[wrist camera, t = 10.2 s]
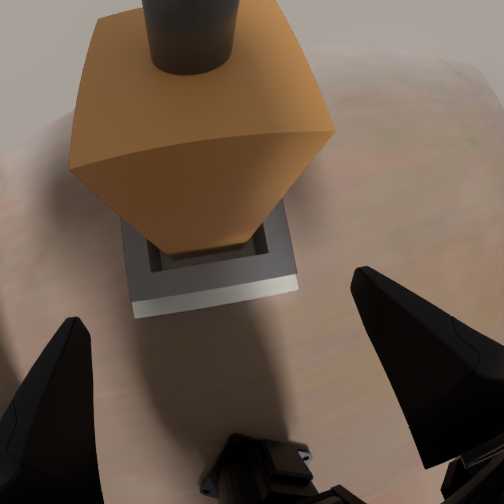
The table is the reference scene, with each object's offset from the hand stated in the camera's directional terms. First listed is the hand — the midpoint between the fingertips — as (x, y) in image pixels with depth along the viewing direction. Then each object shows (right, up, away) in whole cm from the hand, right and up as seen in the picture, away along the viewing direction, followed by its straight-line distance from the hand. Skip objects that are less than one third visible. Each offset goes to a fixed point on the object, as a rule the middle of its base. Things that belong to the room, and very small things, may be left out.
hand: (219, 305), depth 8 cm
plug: (-2, +3, +8) cm, 9 cm away
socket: (-2, +3, +9) cm, 10 cm away
